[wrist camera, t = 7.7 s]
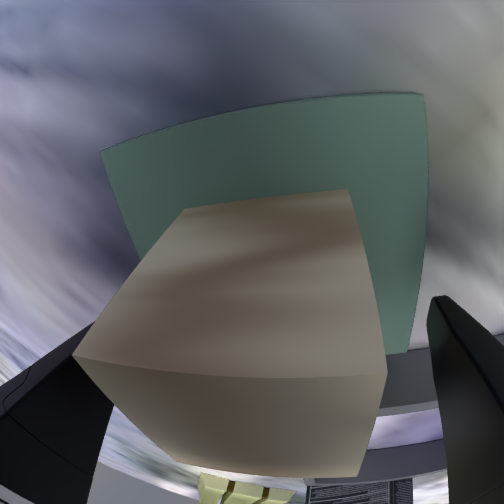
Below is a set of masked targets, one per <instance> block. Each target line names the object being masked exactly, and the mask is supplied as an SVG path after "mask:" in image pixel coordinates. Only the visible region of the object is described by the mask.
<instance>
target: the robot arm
mask: <svg viewBox="0 0 504 504" xmlns="http://www.w3.org/2000/svg"><path fill="white" fill-rule="evenodd" d="M94 322H95V321H94ZM94 322H93V323H91V324H90V325H89V326H87V327H86V328H84V329H83V330H81V331H80V332H78V333H77V334H75V335H74V336H72V337H71V338H70V339H68V340H67V341H65V342H64V343H62V344H61V345H59V346H58V347H57V348H55V349H54V350H52V351H51V352H49V353H48V354H47V355H45V356H44V357H42V358H41V359H39V360H38V361H37V362H35V363H34V364H33V365H32V366H30V367H28V368H27V369H25V370H24V371H22V372H21V373H20V374H18V375H17V376H15V377H14V378H12V379H11V380H9V381H8V382H6V383H5V384H3V385H1V386H0V504H87V500H88V496H89V492H90V488H91V484H92V480H93V475H94V471H95V468H96V464H97V460H98V457H99V453H100V450H101V446H102V443H103V439H104V436H105V433H106V429H107V426H108V423H109V420H110V417H111V413H112V410H113V407H114V404H113V402H112V401H111V400H110V399H109V398H108V397H107V396H106V395H105V394H104V393H103V392H102V391H101V389H100V388H99V387H98V386H97V385H96V384H95V383H94V381H93V380H92V379H91V378H90V377H89V376H88V374H87V373H86V372H85V371H84V370H83V368H82V367H81V366H80V365H79V363H78V362H77V361H76V360H75V358H74V357H73V356H72V354H73V353H74V351H75V350H76V348H77V347H78V345H79V344H80V342H81V341H82V340H83V338H84V337H85V335H86V334H87V332H88V331H89V329H90V328H91V327H92V325H93V324H94ZM427 333H428V340H429V347H430V355H431V363H432V372H433V379H434V384H435V389H436V394H437V400H438V405H439V411H440V416H441V423H442V429H443V436H444V444H445V452H446V462H447V473H448V488H449V504H504V345H503V344H502V343H501V342H500V341H499V340H498V339H496V338H495V337H494V336H493V335H492V334H491V333H490V332H489V331H488V330H487V329H486V328H484V327H483V326H482V325H481V324H480V323H479V322H478V321H477V320H475V319H474V318H473V317H472V316H471V315H470V314H468V313H467V312H466V311H465V310H464V309H463V308H461V307H460V306H459V305H458V304H457V303H456V302H454V301H453V300H452V299H451V298H450V297H448V296H446V295H442V296H435V297H433V298H432V299H431V303H430V307H429V312H428V317H427Z"/></svg>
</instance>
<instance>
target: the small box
mask: <svg viewBox="0 0 504 504" xmlns="http://www.w3.org/2000/svg"><path fill="white" fill-rule="evenodd" d="M305 504H413V484H412V478H407V479H401V480H394V481H386V482H377V483H367V484H354V485H332V486H307V492H306V503H305Z"/></svg>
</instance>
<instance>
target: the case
mask: <svg viewBox="0 0 504 504" xmlns="http://www.w3.org/2000/svg"><path fill="white" fill-rule="evenodd" d="M494 337H495V338H496V339H498V340H499V341H500V342H501V343H502V344H503V345H504V334H502V335H497V336H494ZM385 356H386V363H387V371H388V373H387V378H386V382H385V386H384V391H383V395H382V399H381V402H380V406H379V410H378V414H377V417H379V416H388V415H397V414H404V413H411V412H418V411H424V410H429V409H435V408H439V405H438V400H437V394H436V389H435V384H434V379H433V372H432V363H431V355H430V348H427V349H420V350H413V351H407V352H406V353H398V354H389V355H385ZM446 470H447V462H446V452H445V444H444V439H441V440H436V441H431V442H426V443H420V444H414V445H408V446H401V447H394V448H386V449H377V450H366V453H365V456H364V458H363V461H362V464H361V467H360V470H359V472H358V475H357V477H340V478H304V481H305V485H306V486H332V485H354V484H367V483H377V482H386V481H394V480H401V479H407V478H413V477H418V476H424V475H429V474H433V473H438V472H442V471H446Z"/></svg>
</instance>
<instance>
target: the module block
mask: <svg viewBox="0 0 504 504" xmlns="http://www.w3.org/2000/svg"><path fill="white" fill-rule="evenodd" d="M72 356H73V357H74V358H75V360H76V361H77V362H78V363H79V365H80V366H81V367H82V368H83V370H84V371H85V372H86V373H87V374H88V376H89V377H90V378H91V379H92V380H93V381H94V383H95V384H96V385H97V386H98V387H99V388H100V389H101V391H102V392H103V393H104V394H105V395H106V396H107V397H108V398H109V399H110V400H111V401H112V402H113V404H114V405H115V406H116V407H117V408H118V409H119V410H120V411H121V412H122V413H123V414H124V415H125V416H126V417H127V418H128V419H129V420H130V421H131V422H132V423H133V424H134V425H135V426H136V427H137V428H138V429H140V430H141V431H142V432H143V433H144V434H145V435H146V436H147V437H148V438H149V439H150V440H151V441H153V442H154V443H155V444H156V445H157V446H158V447H159V448H161V449H162V450H163V451H164V452H165V453H166V454H168V455H169V456H170V457H171V458H172V459H174V460H175V461H176V462H180V463H184V464H189V465H194V466H199V467H204V468H209V469H215V470H221V471H228V472H235V473H243V474H251V475H261V476H274V477H292V478H340V477H357V475H358V472H359V470H360V467H361V464H362V461H363V458H364V456H365V453H366V450H367V447H368V444H369V440H370V437H371V434H372V431H373V427H374V424H375V421H376V417H377V414H378V410H379V406H380V402H381V399H382V395H383V391H384V386H385V382H386V378H387V373H388V371H387V363H386V356H385V349H384V343H383V337H382V331H381V325H380V319H379V314H378V308H377V303H376V298H375V293H374V288H373V284H372V279H371V274H370V270H369V266H368V261H367V257H366V253H365V249H364V245H363V241H362V237H361V233H360V229H359V226H358V222H357V218H356V215H355V211H354V208H353V204H352V201H351V197H350V194H349V191H348V189H341V190H330V191H320V192H310V193H300V194H291V195H282V196H273V197H265V198H257V199H249V200H241V201H234V202H226V203H219V204H212V205H205V206H199V207H192V208H186V209H184V210H183V211H182V212H181V214H180V215H179V216H178V217H177V218H176V219H175V221H174V222H173V223H172V224H171V225H170V226H169V228H168V229H167V230H166V231H165V232H164V234H163V235H162V236H161V237H160V238H159V240H158V241H157V242H156V243H155V244H154V246H153V247H152V248H151V249H150V250H149V252H148V253H147V254H146V255H145V257H144V258H143V259H142V260H141V262H140V263H139V264H138V265H137V267H136V268H135V269H134V270H133V272H132V273H131V274H130V276H129V277H128V278H127V279H126V281H125V282H124V283H123V285H122V286H121V287H120V289H119V290H118V291H117V293H116V294H115V295H114V297H113V298H112V299H111V301H110V302H109V303H108V305H107V306H106V307H105V309H104V310H103V311H102V313H101V314H100V316H99V317H98V318H97V320H96V321H95V322H94V324H93V325H92V327H91V328H90V329H89V331H88V332H87V334H86V335H85V337H84V338H83V340H82V341H81V342H80V344H79V345H78V347H77V348H76V350H75V351H74V353H73V354H72Z"/></svg>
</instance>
